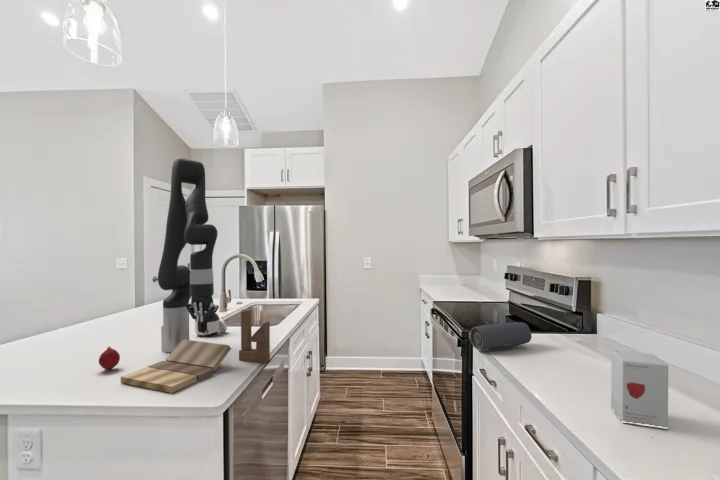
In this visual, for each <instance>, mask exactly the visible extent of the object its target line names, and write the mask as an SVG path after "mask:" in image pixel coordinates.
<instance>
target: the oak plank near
mask: <svg viewBox="0 0 720 480" xmlns="http://www.w3.org/2000/svg"><path fill="white" fill-rule="evenodd" d="M196 382H198V381H197V375H191V374H185V373H179V372H174V371H168V370H162V369H156V368H151V367H148V366H147V367H144V368H141V369H138V370H135V371H133V372H130V373H127V374H125V375H121V376H120V383H121V384H125V385H132V386H135V387H139V388H145V389H150V390H154V391H155V390H156V391H161V392H166V393H171V394H173V393H175V392H177V391H179V390H181V389H184V388H186V387H188V386H190V385H192V384H194V383H196Z"/></svg>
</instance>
